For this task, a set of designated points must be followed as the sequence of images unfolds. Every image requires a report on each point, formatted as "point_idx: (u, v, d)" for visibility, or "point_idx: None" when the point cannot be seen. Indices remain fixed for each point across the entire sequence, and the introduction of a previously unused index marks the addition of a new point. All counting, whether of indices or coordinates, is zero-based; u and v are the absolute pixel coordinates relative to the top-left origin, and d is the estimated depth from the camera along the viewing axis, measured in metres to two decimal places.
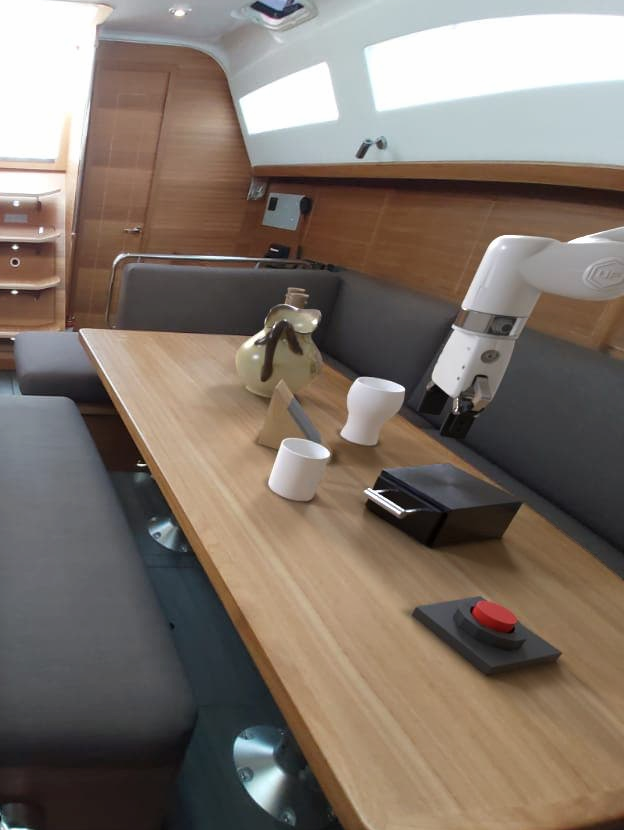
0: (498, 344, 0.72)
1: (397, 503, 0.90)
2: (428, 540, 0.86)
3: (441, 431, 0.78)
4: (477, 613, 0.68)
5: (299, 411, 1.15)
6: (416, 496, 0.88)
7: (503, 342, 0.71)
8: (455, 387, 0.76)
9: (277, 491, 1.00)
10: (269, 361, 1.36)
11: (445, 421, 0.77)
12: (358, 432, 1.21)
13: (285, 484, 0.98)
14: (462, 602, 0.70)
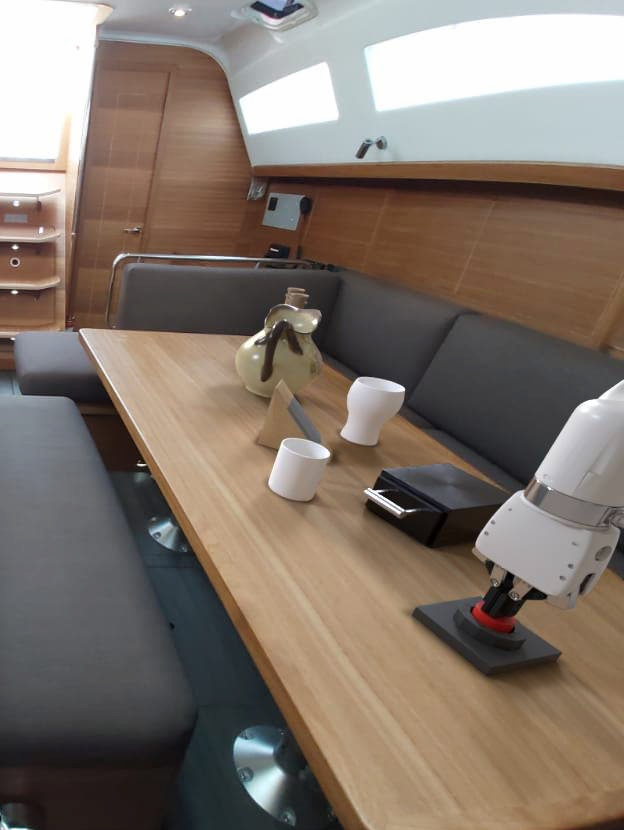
0: (611, 539, 0.56)
1: (397, 503, 0.90)
2: (428, 540, 0.86)
3: (495, 614, 0.66)
4: (476, 614, 0.68)
5: (299, 411, 1.15)
6: (416, 496, 0.88)
7: (616, 536, 0.56)
8: (559, 588, 0.59)
9: (277, 491, 1.00)
10: (269, 361, 1.36)
11: (500, 604, 0.65)
12: (358, 432, 1.21)
13: (285, 484, 0.98)
14: (462, 602, 0.70)
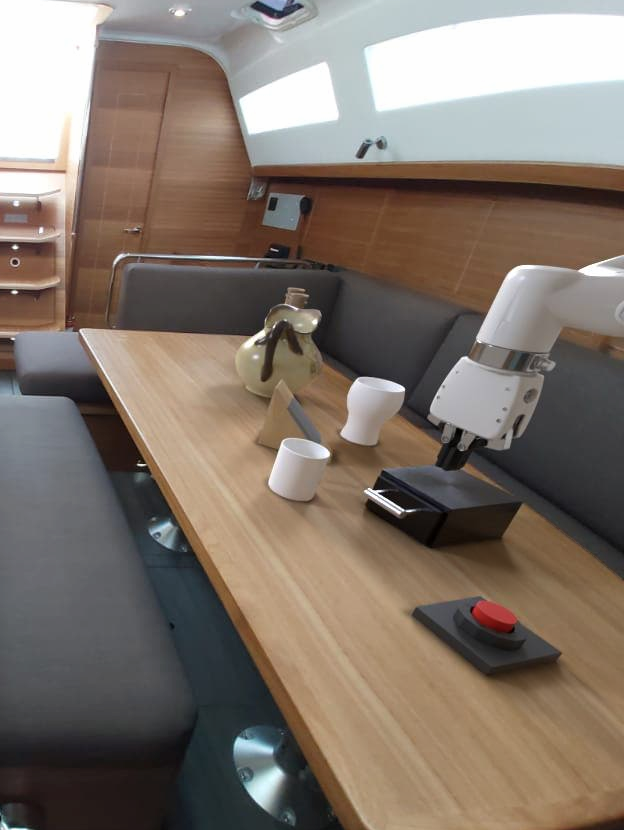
0: (537, 382, 0.67)
1: (397, 503, 0.90)
2: (428, 540, 0.86)
3: (446, 467, 0.77)
4: (477, 613, 0.68)
5: (299, 411, 1.15)
6: (416, 496, 0.88)
7: (540, 380, 0.67)
8: (496, 430, 0.70)
9: (277, 491, 1.00)
10: (269, 361, 1.36)
11: (450, 457, 0.76)
12: (358, 432, 1.21)
13: (285, 484, 0.98)
14: (462, 602, 0.70)
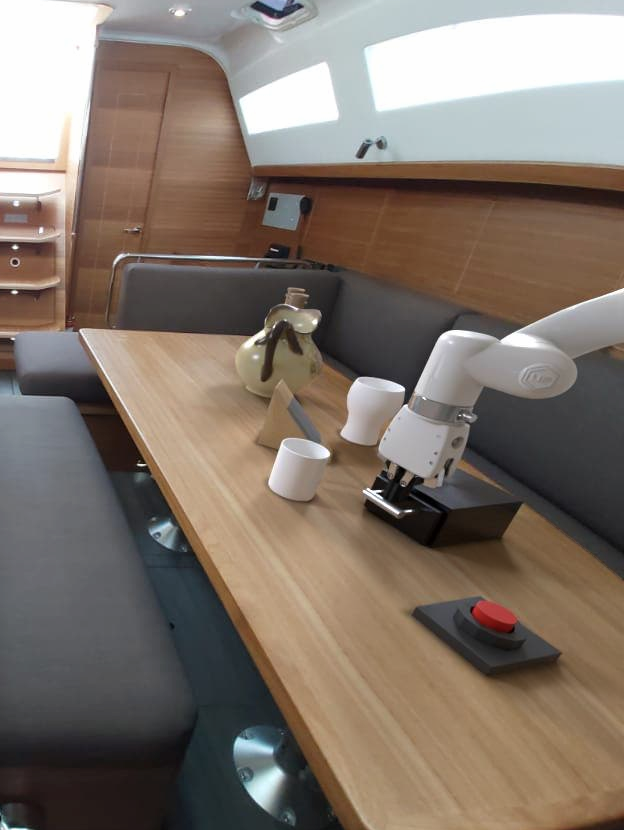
0: (462, 431, 0.78)
1: (395, 503, 0.90)
2: (427, 540, 0.86)
3: (391, 500, 0.87)
4: (477, 613, 0.68)
5: (299, 411, 1.15)
6: (414, 496, 0.87)
7: (465, 429, 0.78)
8: (429, 471, 0.81)
9: (277, 491, 1.00)
10: (269, 361, 1.36)
11: (394, 491, 0.87)
12: (358, 432, 1.21)
13: (285, 484, 0.98)
14: (462, 602, 0.70)
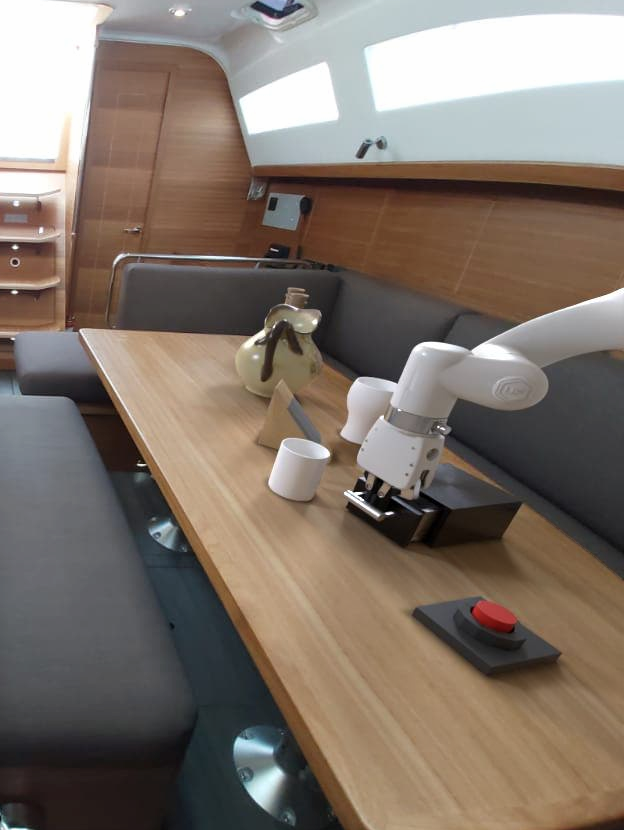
0: (437, 443, 0.78)
1: None
2: (407, 543, 0.85)
3: None
4: (477, 613, 0.68)
5: (299, 411, 1.15)
6: (395, 498, 0.87)
7: (440, 441, 0.78)
8: (405, 482, 0.80)
9: (277, 491, 1.00)
10: (269, 361, 1.36)
11: (372, 502, 0.87)
12: (358, 432, 1.21)
13: (285, 484, 0.98)
14: (462, 602, 0.70)
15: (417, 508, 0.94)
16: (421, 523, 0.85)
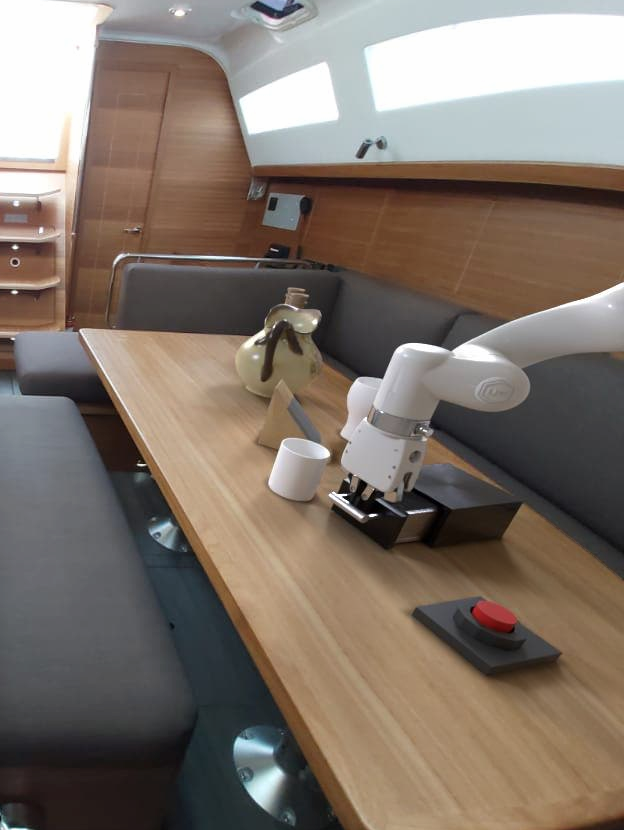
0: (420, 445, 0.77)
1: None
2: (391, 545, 0.84)
3: None
4: (477, 613, 0.68)
5: (299, 411, 1.15)
6: (379, 500, 0.86)
7: (423, 443, 0.77)
8: (388, 485, 0.80)
9: (277, 491, 1.00)
10: (269, 361, 1.36)
11: (356, 505, 0.86)
12: None
13: (285, 484, 0.98)
14: (462, 602, 0.70)
15: (403, 510, 0.94)
16: (405, 525, 0.84)
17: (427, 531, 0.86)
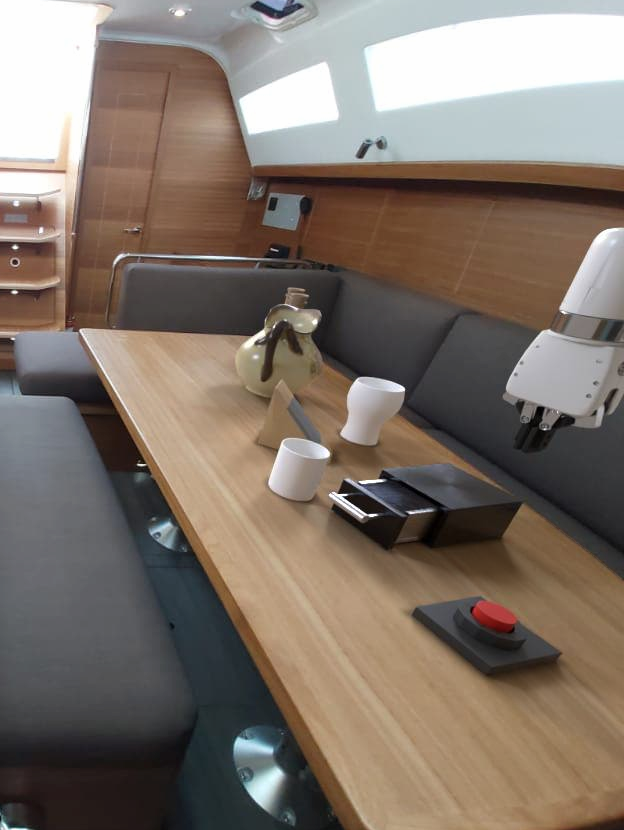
0: None
1: (361, 507, 0.89)
2: (391, 545, 0.84)
3: (527, 448, 0.72)
4: (477, 613, 0.68)
5: (299, 411, 1.15)
6: (380, 500, 0.86)
7: None
8: (586, 406, 0.65)
9: (277, 491, 1.00)
10: (269, 361, 1.36)
11: (531, 438, 0.71)
12: (358, 432, 1.21)
13: (285, 484, 0.98)
14: (462, 602, 0.70)
15: (403, 510, 0.94)
16: (405, 525, 0.84)
17: (427, 531, 0.86)
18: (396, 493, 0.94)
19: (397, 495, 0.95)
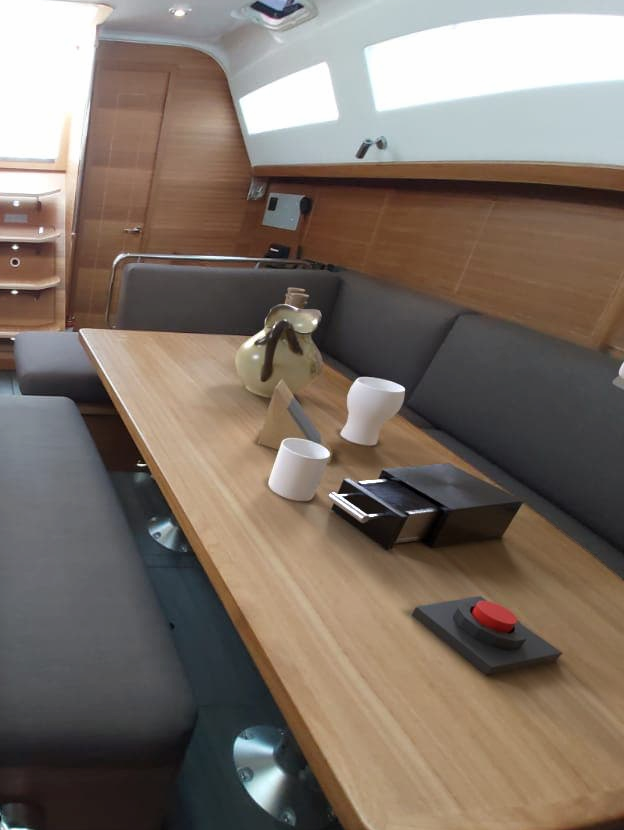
0: None
1: (361, 507, 0.89)
2: (391, 545, 0.84)
3: None
4: (477, 613, 0.68)
5: (299, 411, 1.15)
6: (380, 500, 0.86)
7: None
8: None
9: (277, 491, 1.00)
10: (269, 361, 1.36)
11: None
12: (358, 432, 1.21)
13: (285, 484, 0.98)
14: (462, 602, 0.70)
15: (403, 510, 0.94)
16: (405, 525, 0.84)
17: (427, 531, 0.86)
18: (396, 493, 0.94)
19: (397, 495, 0.95)
